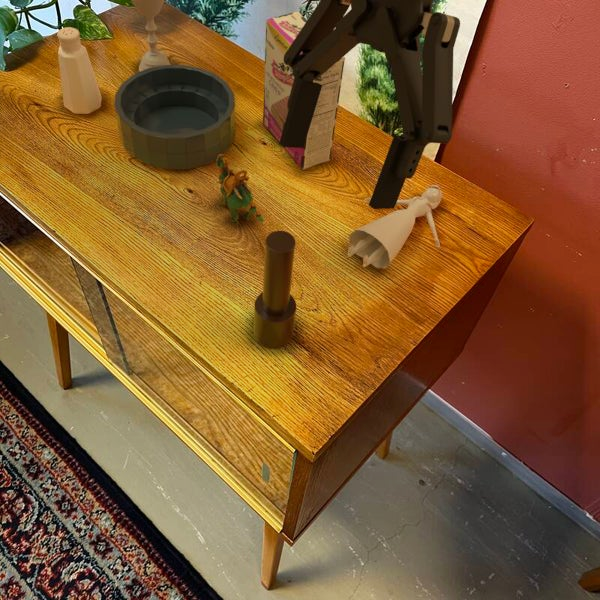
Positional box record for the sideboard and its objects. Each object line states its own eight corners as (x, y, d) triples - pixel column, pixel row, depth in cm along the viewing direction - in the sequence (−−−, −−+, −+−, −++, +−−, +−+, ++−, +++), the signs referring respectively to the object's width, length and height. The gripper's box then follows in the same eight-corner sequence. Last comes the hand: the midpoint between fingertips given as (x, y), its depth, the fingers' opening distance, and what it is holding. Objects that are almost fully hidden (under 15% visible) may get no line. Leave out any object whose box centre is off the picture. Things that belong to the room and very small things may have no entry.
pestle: (249, 344, 73) (252, 253, 61) (258, 312, 75) (262, 220, 63) (288, 352, 72) (299, 263, 60) (296, 320, 75) (308, 229, 63)
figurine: (228, 184, 87) (227, 134, 81) (273, 245, 82) (276, 196, 75) (206, 191, 86) (204, 141, 80) (251, 253, 80) (252, 205, 74)
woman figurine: (321, 219, 78) (405, 156, 88) (315, 246, 82) (398, 182, 92) (401, 273, 74) (480, 200, 84) (392, 298, 78) (469, 226, 88)
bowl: (103, 161, 88) (96, 124, 83) (143, 92, 98) (138, 56, 93) (217, 183, 87) (216, 147, 83) (246, 112, 97) (247, 76, 92)
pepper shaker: (96, 88, 97) (82, 17, 89) (107, 109, 95) (94, 38, 86) (59, 96, 96) (41, 25, 87) (69, 118, 93) (52, 47, 84)
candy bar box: (260, 125, 95) (264, 17, 82) (289, 115, 97) (298, 9, 84) (301, 173, 90) (312, 66, 77) (331, 162, 92) (347, 55, 79)
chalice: (162, 50, 104) (150, -70, 90) (188, 70, 102) (180, -50, 87) (122, 66, 101) (103, -56, 87) (148, 88, 98) (133, -34, 84)
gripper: (566, -21, 49) (453, 235, 59) (347, -87, 63) (286, 126, 73) (511, -44, 44) (397, 239, 54) (287, -109, 59) (231, 122, 69)
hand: (333, 175), depth 64 cm, fingers open, 13 cm apart
